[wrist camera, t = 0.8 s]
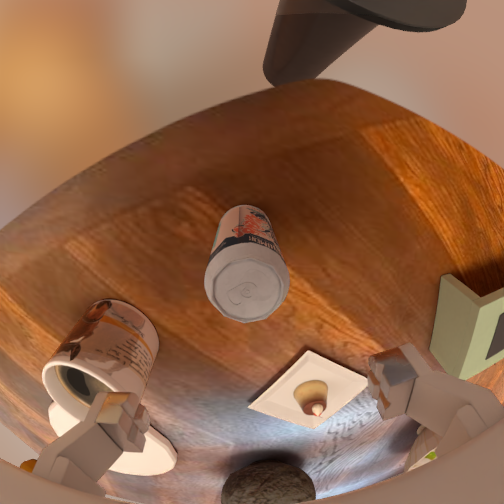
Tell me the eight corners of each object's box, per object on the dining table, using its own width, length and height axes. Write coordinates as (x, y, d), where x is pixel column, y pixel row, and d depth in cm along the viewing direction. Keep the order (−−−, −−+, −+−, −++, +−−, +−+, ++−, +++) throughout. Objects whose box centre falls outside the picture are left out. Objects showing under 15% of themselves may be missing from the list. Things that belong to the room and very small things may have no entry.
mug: (153, 378, 33) (132, 446, 22) (71, 346, 31) (34, 403, 21) (165, 315, 29) (137, 390, 19) (70, 280, 28) (16, 334, 17)
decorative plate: (100, 402, 29) (199, 481, 37) (110, 381, 33) (201, 463, 41) (21, 412, 32) (106, 481, 40) (30, 398, 36) (110, 467, 44)
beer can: (280, 238, 27) (307, 304, 15) (236, 262, 27) (233, 341, 16) (254, 194, 25) (264, 231, 14) (208, 220, 26) (184, 278, 15)
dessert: (312, 423, 37) (318, 448, 33) (247, 401, 34) (248, 429, 30) (370, 375, 34) (382, 399, 29) (306, 344, 31) (314, 372, 27)
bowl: (418, 401, 38) (440, 442, 28) (481, 384, 39) (504, 414, 30) (375, 457, 44) (387, 493, 35) (439, 439, 46) (453, 468, 36)
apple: (21, 448, 47) (9, 474, 36) (44, 460, 48) (32, 487, 37) (33, 462, 50) (23, 486, 39) (55, 473, 51) (46, 499, 40)
